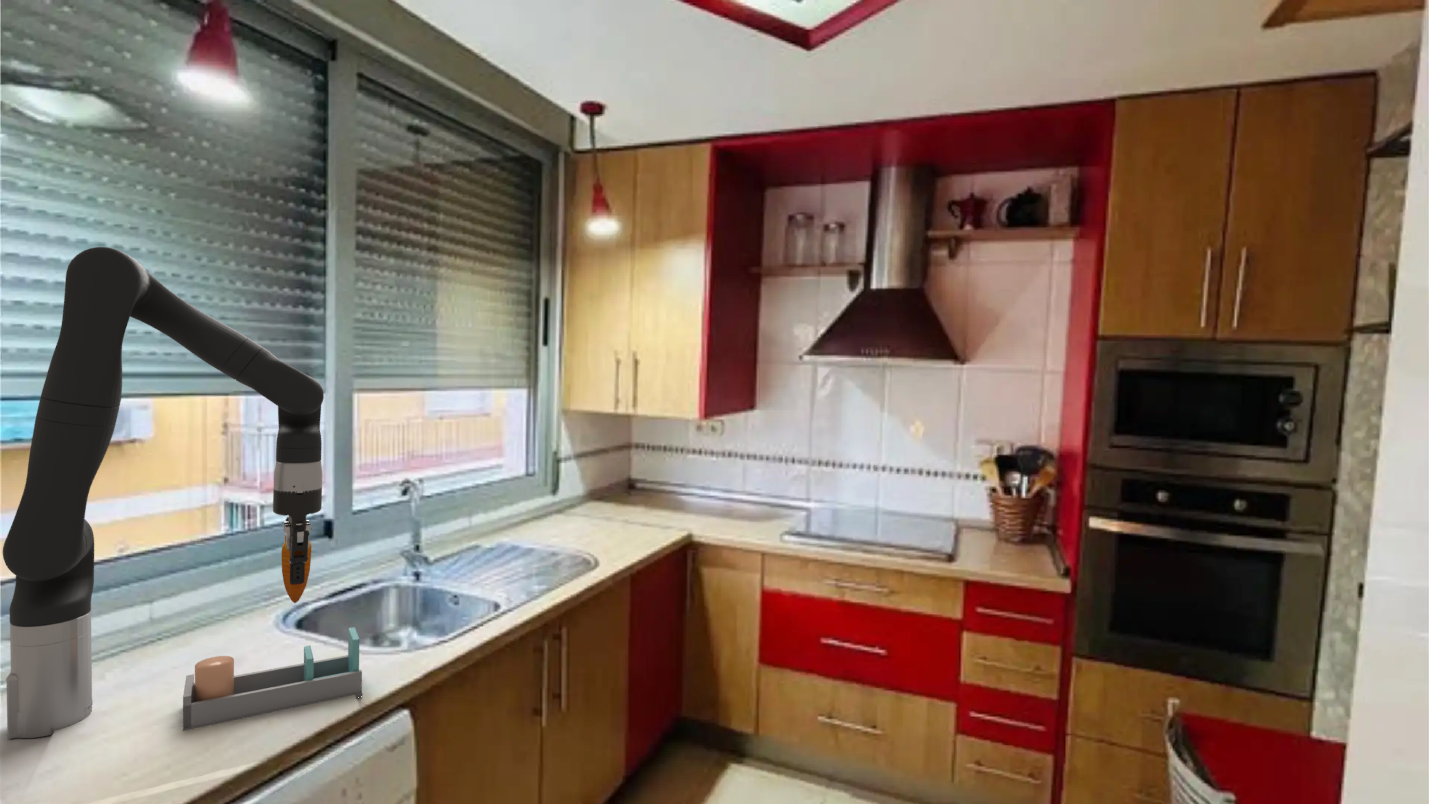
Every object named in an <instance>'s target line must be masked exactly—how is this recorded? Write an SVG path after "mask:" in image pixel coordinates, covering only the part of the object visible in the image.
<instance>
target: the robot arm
mask: <svg viewBox="0 0 1429 804" xmlns="http://www.w3.org/2000/svg"><path fill="white" fill-rule="evenodd" d="M64 283H65V284H64V285H65V286H64V298H63V299H64V300H63V309H62V318H61V325H60V331H59V335H58V340H57V342H56V345H55V347H54V350H53V354H52V356H51V359H50V363H49V366H48V369H47V372H46V377H45V380H44V383H43V387H42V390H41V394H40V397H39V401H38V406H37V411H36V416H35V420H34V426H33V432H32V438H31V443H30V444H31V445H30V450H29V456H28V462H27V470H26V471H27V472H26V473H27V474H26V479H25V485H24V488H23V492H22V495H21V499H20V500H19V504H18V507H17V509H16V512H15V515H14V518H13V519H12V520H13V521H12V523H11V525H10V528H9V529H8V530H9V531H8V532H7V536H6V538H5V541H4V543H3V546H2V559H3V560H4V563H5V566H6V567H7V569H8V570H9V571H10V572H11V573H12V574H13V575H14V576H15V586H14V590H13V591H14V592H13V596H12V599H11V603H10V606H9V641H10V642H9V643H10V645H9V646H10V648H9V649H10V653H9V654H10V672H9V674H8V675H7V677H6V678H5V679H6V717H7V718H6V724H7V725H6V726H7V727H6V734H7V735H6V736H7V739H8V740H10V739H11V740H12V739H17V738H21V739H22V738H23V739H33V738H41V737H47V736H51V735H54V733H55V731H58V730H61V729H64V728H67V727H70V726H73V725H75V724H77V723H80V722H82V721H83V720H85V719H86V718H88V717H89V716H91V713H92V712H93V666H92V662H93V661H92V660H93V659H92V658H93V657H92V654H93V653H92V597H93V591H94V584H95V536H94V531H93V528H92V526H91V525H90V523H89V522H88V521H87V520H86V519H85V518H86V511H87V510H86V509H87V503H88V498H89V493H90V490H91V487H92V485H93V482H94V480H95V477H96V475H97V473H98V471H99V469H100V467H101V465H102V462H103V460H104V458H105V456H106V454H107V451H108V449H109V447H110V443H111V441H112V438H113V435H114V432H115V428H116V423H117V420H118V416H119V411H120V406H121V402H122V401H121V400H122V393H123V392H122V390H123V355H122V354H123V342H124V337H125V333H126V330H127V326H128V323H129V321H130V317H131V318H133V319H135V320H138V321H139V322H141V323H144V324H146V325H148V326H149V327H152V328H153V329H155V330H157V331H159V332H160V333H163V334H164V335H166V337H169V338H171V339H172V340H173V341H175V342H177V343H178V344H179V345H180V346H182V347H183V348H184V349H186V350H188V352H190V353H191V354H193V355H194V356H195V357H198V358H199V359H201V361H203V362H205V363H207V364H208V365H210V366H211V367H213V368H214V369H216V370H218V371H220V372H221V373H223V374H224V375H226V376H227V377H230V378H231V379H233V380H235V381H236V382H238V383H240V384H242V385H244V386H246V387H247V388H248V387H249V388H250V389H252V390H254V391H255V392H257V393H258V394H259V395H261V396H263V397H264V398H265V399H266V400H268V401H269V402H271V403H273V404H274V405H276V406H277V419H278V420H277V422H278V431H277V436H276V442H275V443H276V444H275V445H276V446H275V465H274V466H275V467H274V471H273V488H272V489H273V490H272V491H273V492H272V499H273V500H272V512H273V513H274V514H275V515H278V516H286V518H285V521H283V532H284V539H283V540H284V543H285V542H286V549H287V550H288V551H289V552H290V559H289V562H290V584H291V585H295V584H302V583H304V576H305V563H306V562H307V560H308V557H307V553H308V548H309V541H310V533H311V530H312V529H311V528H312V526H311V522H310V520H308V519H307V516H308V515H315V514H317V513H319V512H320V511H321V510H322V504H323V503H322V501H323V500H322V499H323V498H322V497H323V468H322V467H323V466H322V451H323V450H322V446H323V444H322V433H321V417H322V416H321V414H322V405H323V402H324V399H325V397H324V396H325V395H324V389H323V388H322V387H323V386H322V385H321V384H320V383H319V382H318V381H317V380H316V379H315V378H313V377H312V376H310V375H308V374H306V373H304V372H301V371H300V370H298V369H296V368H295V367H293V366H291V365H289V364H288V363H286V362H284V361H282V360H280V359H279V358H278V357H277V356H276V355H274V353H271V351H270V350H268V349H266V348H265V347H263V346H262V345H260V344H259V343H257V342H255V341H254V340H252V339H250V338H249V337H248V336H246V335H244V334H242V333H241V332H239V331H238V330H235V328H232V327H230V326H228V325H227V324H225V323H223V322H221V321H219V320H218V319H216V318H214V317H212V316H210V315H208V314H207V313H204V312H203V311H201V310H200V309H198V308H196V307H195V306H193V305H191V303H189V302H187V301H185V300H184V299H183V298H181V297H180V296H178V295H177V294H176V293H175V292H173V291H171V290H170V289H169V288H167V286H165V285H164V284H163V283H161V282H160V281H159V280H158V279H156V278H155V277H154V276H153V275H152V274H151V273H150V272H148V270H147V269H146V268H145V267H144V266H143V264H141V262H139V261H138V260H137V259H135V258H134V257H133V256H130V255H129V254H128V253H125V252H123V251H121V250H119V249H116V248H113V247H106V246H95V247H91V248H88V249H85V250H83V251H81V252H79V253H78V254H76V255H75V256H74V257H73V258H72V259H71V261H70V263H69V264H68V266H67V269H66V272H65V281H64ZM290 523H291V524H290ZM289 524H290V525H289ZM290 543H291V544H290ZM296 551H303V552H302V555H297V556H294V555H295V552H296Z"/></svg>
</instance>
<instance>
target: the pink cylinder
mask: <svg viewBox="0 0 1429 804" xmlns="http://www.w3.org/2000/svg"><path fill="white" fill-rule="evenodd" d="M234 676H235V658H234V657H233V656H229V655H217V656H211V657H208V658H205V659H202V660H200V661H198V662H197V663H195V665H194V683H195V702H199V701H204V700H209V699H214V698H219V697H225V696H230V695H234Z"/></svg>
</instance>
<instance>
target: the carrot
mask: <svg viewBox="0 0 1429 804" xmlns="http://www.w3.org/2000/svg"><path fill="white" fill-rule="evenodd" d="M290 524H291V523H290ZM290 524H289V525H290ZM311 530H312V527H311ZM290 544H291V543H290ZM302 552H303V551H296V552H295V555H294V556H297V555H302ZM307 557H308V560H307V562H306V563H305V576H304V583H302V584H295V585H291V584H290V562H289V559H290V552H289V551H288V550H287V549H286V542H285V541H284V543H283V544H282V546H281V575H282V580H283V585H284V589H285V591H286V594H287V595H288V597H289V599H290V601H291V602H293V603H294V604H297V602H299V601H300V599H301V597H302V595H304V592H305V589H306V588H307V584H308V580H309V576H310V570H311V563H312V562H311V560H312V559H311V558H312V543H311V541H310V540H309V548H308V553H307Z"/></svg>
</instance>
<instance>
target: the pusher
mask: <svg viewBox="0 0 1429 804" xmlns="http://www.w3.org/2000/svg"><path fill="white" fill-rule="evenodd" d="M347 635H348V638H347V639H348V640H347V641H348V642H347V645H348V646H347V655H348V672H345V673H349V672H354V671H359V670H360V637H359V634H358V632H357V630H356V627H355V626H354V627H349V628H348V633H347ZM314 661H315V660H314V654H313V649H312V646H311V645H304V646H303V663H304V681H307V680H312V679H313V673H314ZM340 674H343V673H340ZM335 675H338V674H335ZM330 676H333V675H330ZM325 677H328V676H325ZM319 678H323V677H319ZM314 679H318V678H314Z"/></svg>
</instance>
